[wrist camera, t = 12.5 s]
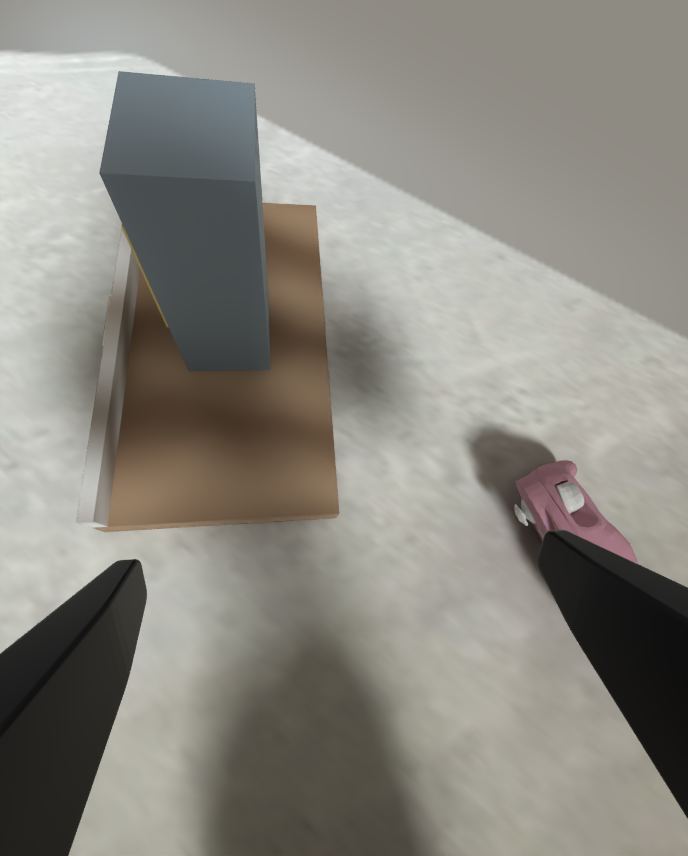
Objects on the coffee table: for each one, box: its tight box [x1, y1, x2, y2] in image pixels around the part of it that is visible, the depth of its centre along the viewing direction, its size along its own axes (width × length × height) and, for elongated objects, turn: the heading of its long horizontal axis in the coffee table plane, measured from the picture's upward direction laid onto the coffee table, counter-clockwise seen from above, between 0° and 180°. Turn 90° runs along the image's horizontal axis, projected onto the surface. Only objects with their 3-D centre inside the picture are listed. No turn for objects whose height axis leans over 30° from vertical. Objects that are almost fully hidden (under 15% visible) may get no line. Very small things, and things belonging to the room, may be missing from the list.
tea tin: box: [100, 71, 270, 371], centre depth 19 cm, size 5×5×12 cm
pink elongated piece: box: [514, 461, 638, 564], centre depth 21 cm, size 10×5×7 cm, turn 23°
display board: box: [76, 203, 339, 532], centre depth 25 cm, size 22×12×3 cm, turn 5°
